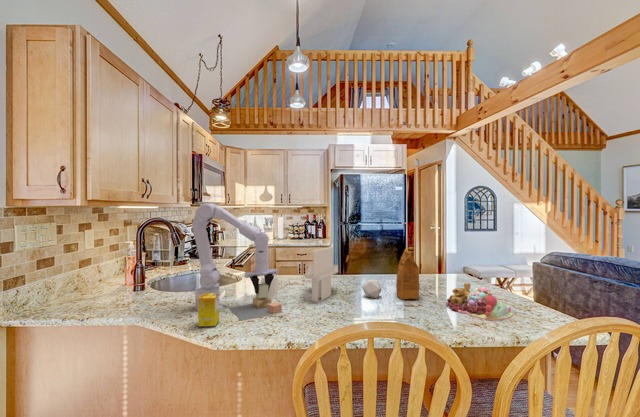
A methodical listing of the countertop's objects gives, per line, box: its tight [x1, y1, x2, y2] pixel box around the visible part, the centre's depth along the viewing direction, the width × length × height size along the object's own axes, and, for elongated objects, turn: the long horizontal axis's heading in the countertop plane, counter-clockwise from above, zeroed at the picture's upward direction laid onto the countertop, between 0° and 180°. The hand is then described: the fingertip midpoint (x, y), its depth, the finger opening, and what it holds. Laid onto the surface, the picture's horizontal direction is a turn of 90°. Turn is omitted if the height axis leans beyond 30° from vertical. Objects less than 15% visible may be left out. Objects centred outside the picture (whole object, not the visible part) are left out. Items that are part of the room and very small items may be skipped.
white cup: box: [260, 274, 279, 300], centre depth 146 cm, size 8×8×10 cm
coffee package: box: [395, 248, 421, 301], centre depth 147 cm, size 10×12×22 cm
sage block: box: [255, 282, 268, 298], centre depth 133 cm, size 4×4×5 cm
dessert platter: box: [445, 282, 513, 322], centre depth 131 cm, size 25×24×9 cm
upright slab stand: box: [304, 243, 339, 304], centre depth 149 cm, size 28×21×23 cm
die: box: [361, 279, 382, 299], centre depth 147 cm, size 8×9×10 cm
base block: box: [252, 296, 272, 309], centre depth 134 cm, size 6×6×3 cm
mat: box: [228, 303, 283, 322], centre depth 128 cm, size 17×17×1 cm
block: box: [267, 301, 282, 315], centre depth 126 cm, size 4×4×3 cm
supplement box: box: [197, 292, 220, 329], centre depth 113 cm, size 6×6×11 cm
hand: (261, 292), depth 133 cm, fingers closed on sage block, 4 cm apart
